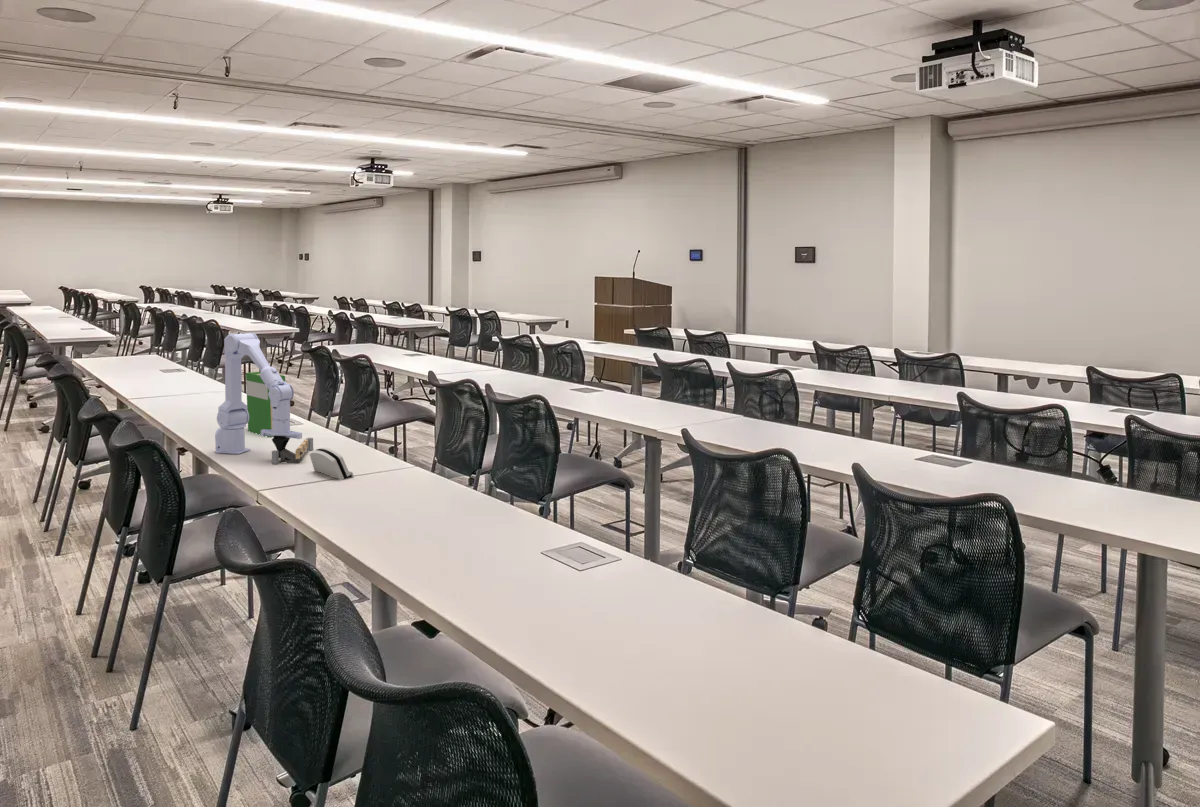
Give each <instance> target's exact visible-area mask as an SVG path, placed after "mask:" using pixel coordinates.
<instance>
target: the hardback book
mask: <svg viewBox="0 0 1200 807" xmlns="http://www.w3.org/2000/svg"><path fill="white" fill-rule="evenodd" d="M260 373H261V371H253V372H245V381H246V382H245V385H246V386H245V388H246V405H247V410H248V413H249V421H248V423H247V431H248V432H249V431H250V432H249V433H252V432H253V434H255V433H257V434H256V435H259V434H260V435H259V436H261V430H263V429H269V430H273V421H272V406H271V400H270V398H269V395H268V393H269V389H268V388H267V386H266V385H265V383H264V382H263V380H262V379H261V377H260ZM279 375H280V376H281V378H282V379H283V381H284V382H286V375H283V374H279ZM265 436H266V435H264V436H263V437H265ZM269 437H270V438H272V436H267V437H266V438H269Z"/></svg>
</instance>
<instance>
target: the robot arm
mask: <svg viewBox="0 0 1200 807" xmlns="http://www.w3.org/2000/svg"><path fill="white" fill-rule="evenodd" d="M223 342H224V343H223V344H224V345H223V346H224V353H223V354H224V382H225V383H224V384H225V386H224V387H225V388H224V390H225V393H224V394H225V397H224V398H225V400H224V401H223V402H222V403H221V404H220V405H219V406H218V412H217V414H216V422H217V424H218V426H219V427H218V428H216V430H215V435H214V437H215V440H214V441H215V444H214V445H215V450H214V453H217V454H231V455H233V454H234V455H239V454H243V453H246V452H248V451H250V450H251V448H248V447H246V437H245V436H246V435H245V428H246V427H247V425H248V421H249V413H248V410H247V403H245V402H243V400H242V398H243V395H242V394H243V392H242V390H243V388H242V359H243V357H244V356H248V357H249V358H250V360H251V361H252V362H253V364H254V365H255V366H256V367H257V369H259V372H261V373H260V377H261V379H262V380H263V382H264V383H265V385H266V386H267V388H268V389H269V393H268V395H269V398H270V400H271V406H272V421H273V430H269V429H263V430H261V435H260V436H262V437H265V436H264V435H266V436H271V437H273V438H271V441H272V443H273V444H274V446H275V448H276V449H275V450H276V451H278V452H279V453H280V451H282V450H284V449H286V447H287V444H288V442H289V441H290V439H296V440H301V439H303V433H302V432H299V431H293V430H291V400H292V399H293V398H294V395H295V394H294V393H295V391H294V388H293V387H292V386H293V385H291V383H287V382H286V381H285V382H284V381H283V379H282V378H281V376H280V375H281V374H280V373H279V371H278V369H276V367H275V366H271V365H270V364H269V362H268V359H267V358H266V357H265V354H264V352H263V350H262V349H261V341H260V339H259V337H258V335H257V334H256V333H255V332H247V333H229V334H228V335H226V337H225V338H224V339H223ZM279 459H280V454H279Z"/></svg>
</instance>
